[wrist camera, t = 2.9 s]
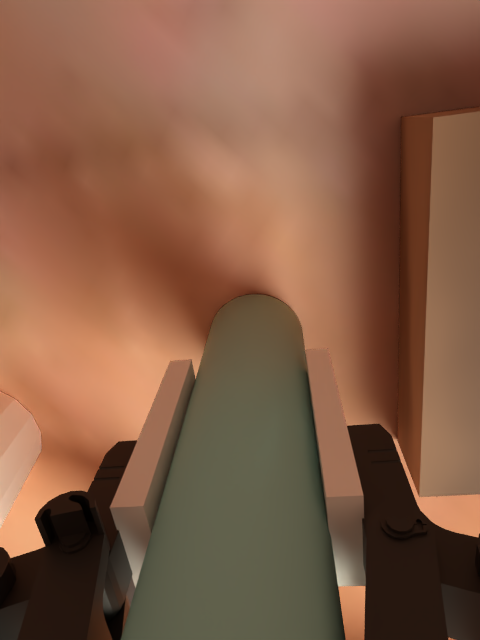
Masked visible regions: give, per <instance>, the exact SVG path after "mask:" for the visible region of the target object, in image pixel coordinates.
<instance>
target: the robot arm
mask: <svg viewBox="0 0 480 640" xmlns="http://www.w3.org/2000/svg"><path fill="white" fill-rule="evenodd" d="M305 351H306V363H307V375H308V382H309V389H310V397H311V404H312V411H313V419H314V426H315V433H316V441H317V448H318V456H319V463H320V470H321V478H322V485H323V492H324V500H325V507H326V514H327V522H328V529H329V532H330V535H331V540H332V547H333V554H334V561H335V568H336V575H337V583H338V586H366V591H365V638H364V640H448V637H449V638H453V639H456V640H480V534H479V537H478V538H477V537H473V536H468V535H464V534H459V533H455V532H452V531H449V530H445V529H443V528H441V527H439V526H437V525H435V524H434V523H433V522H431V521H430V520H429V519H428V518H427V517H426V516H425V515H424V514H423V513H422V512H421V511H420V509H419V507H418V505H417V503H416V500H415V498H414V495H413V492H412V490H411V487H410V484H409V482H408V479H407V476H406V473H405V471H404V468H403V465H402V463H401V460H400V457H399V455H398V452H397V451H396V447H395V444H394V441H393V439H392V436H391V434H390V433H388V432H387V431H386V430H385V429H384V428H383V427H382V426H381V425H380V424H368V425H352V426H347V425H346V420H345V416H344V412H343V408H342V404H341V400H340V395H339V391H338V387H337V383H336V379H335V375H334V370H333V366H332V362H331V358H330V354H329V350H328V348H322V349H310V350H305ZM194 383H195V375H194V370H193V365H192V359H190V360H178V361H170V363H169V365H168V368H167V370H166V373H165V375H164V377H163V380H162V382H161V385H160V387H159V390H158V392H157V394H156V397H155V399H154V402H153V404H152V407H151V409H150V411H149V414H148V416H147V419H146V421H145V424H144V426H143V428H142V431H141V433H140V436H139V438H138V441H122V442H118V443H117V444H116V445H115V446H114V447H113V448H111V449H110V450H109V451H108V452H107V453H106V455H105V457H104V459H103V461H102V463H101V465H100V467H99V468H100V469H99V470H98V471H97V473H96V475H95V477H94V481H92V484H91V486H90V488H89V490H88V492H84V491H70V492H67V493H64V494H61V495H59V496H57V497H55V498H54V499H52V500H50V501H49V502H48V503H47V504H45V505H44V506H43V507H42V508H41V509H40V510H39V512H38V514H37V516H36V517H35V521H36V524H37V526H38V529H39V531H40V534H41V536H42V538H43V541H44V543H45V547H43V548H41V549H38V550H35V551H32V552H29V553H26V554H23V555H20V556H16V557H13V558H10V557H9V554H8V553H7V552H6V551H5V550H4V548H2V547H0V640H121V637H122V633H123V630H124V626H125V623H126V619H127V616H128V612H129V609H130V605H129V600H128V597H127V591H128V588H129V584H130V581H131V578H133V582H134V585H135V588H136V585H137V581H138V578H139V574H140V571H141V567H142V564H143V560H144V557H145V553H146V550H147V547H148V543H149V540H150V536H151V533H152V529H153V526H154V522H155V519H156V515H157V512H158V508H159V505H160V501H161V498H162V494H163V491H164V488H165V484H166V481H167V477H168V474H169V470H170V467H171V463H172V460H173V456H174V453H175V449H176V446H177V442H178V439H179V435H180V432H181V429H182V425H183V422H184V418H185V415H186V411H187V408H188V404H189V401H190V397H191V394H192V390H193V387H194Z"/></svg>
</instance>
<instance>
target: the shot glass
mask: <svg viewBox="0 0 480 640" xmlns="http://www.w3.org/2000/svg"><path fill="white" fill-rule="evenodd" d="M41 450H42V443H41V431H40V429H39V428H38V426H37V424H36V422H35V420H34V418H33V416H32V414H31V413H30V412H29V411H28V410H27V409H25V408H24V407H23V406H22V405H21V404H20V403H19V402H18V401H17V400H16V399H15V398H13V397H11V396H9V395H7V394H5V393H3V392H1V391H0V528H1V526H2V524H3V522H4V520H5V518H6V517H7V515H8V513H9V511H10V509H11V507H12V505H13V503H14V501H15V500H16V498H17V496H18V494H19V492H20V490H21V488H22V486H23V485H24V483H25V481H26V479H27V477H28V475H29V473H30V471H31V469H32V468H33V466H34V464H35V462H36V460H37V458H38V456H39V454H40V452H41Z"/></svg>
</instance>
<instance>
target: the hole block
mask: <svg viewBox="0 0 480 640" xmlns="http://www.w3.org/2000/svg"><path fill="white" fill-rule="evenodd" d="M398 443H399V446H400V448H401V451H402V453H403V456H404V459H405V461H406V464H407V466H408V469H409V471H410V474H411V477H412V479H413V482H414V484H415V487H416V490H417V492H418V495H419V497H430V496H451V495H473V494H480V106H479V107H471V108H464V109H457V110H449V111H442V112H434V113H427V114H419V115H412V116H405V117H401V180H400V268H399V357H398Z"/></svg>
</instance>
